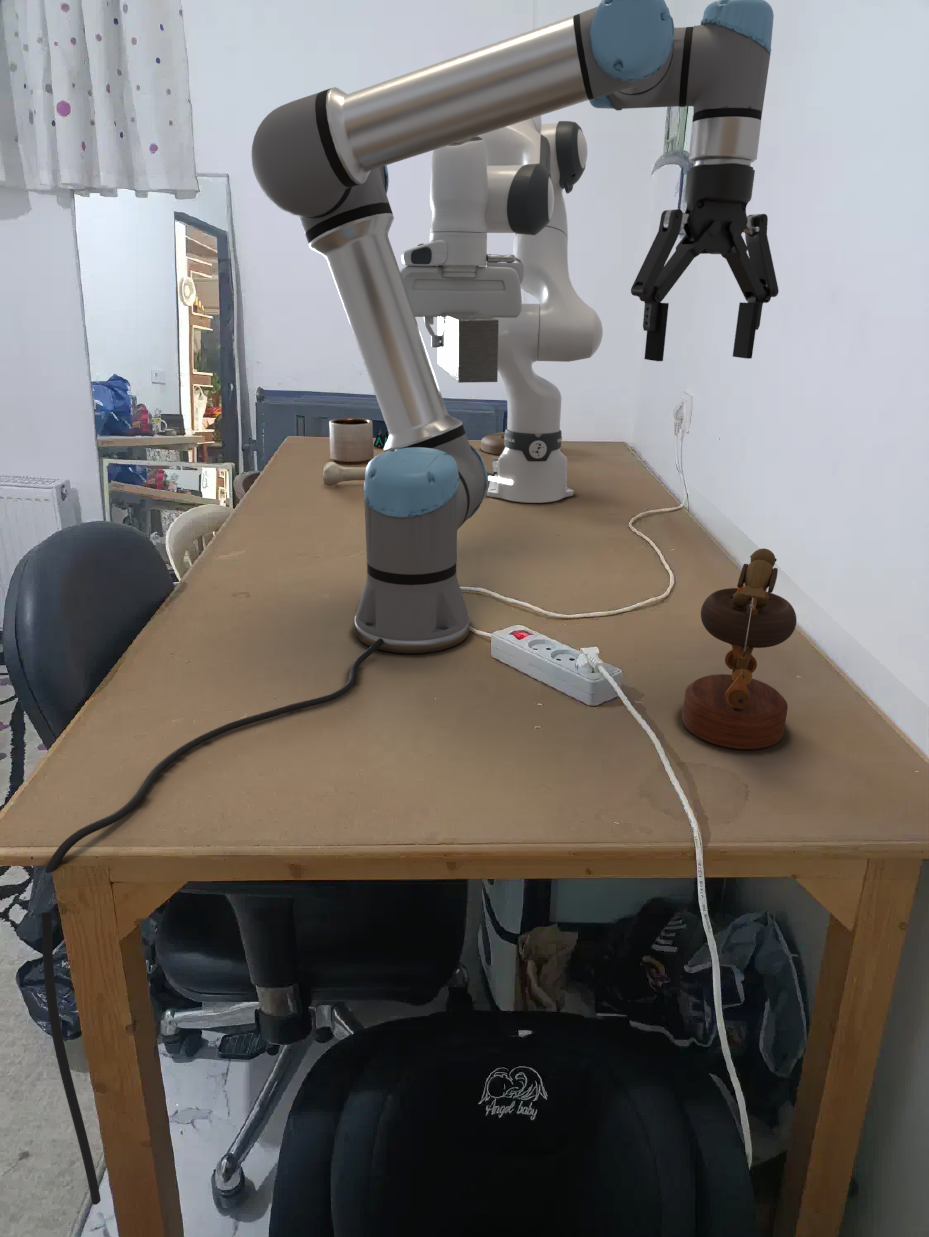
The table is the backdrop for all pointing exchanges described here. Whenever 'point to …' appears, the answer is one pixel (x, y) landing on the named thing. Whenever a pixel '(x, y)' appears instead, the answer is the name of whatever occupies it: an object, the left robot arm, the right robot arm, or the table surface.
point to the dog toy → (341, 473)
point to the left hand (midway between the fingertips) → (698, 359)
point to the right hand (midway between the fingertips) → (457, 347)
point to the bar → (469, 346)
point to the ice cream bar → (493, 443)
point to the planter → (351, 440)
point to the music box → (742, 662)
